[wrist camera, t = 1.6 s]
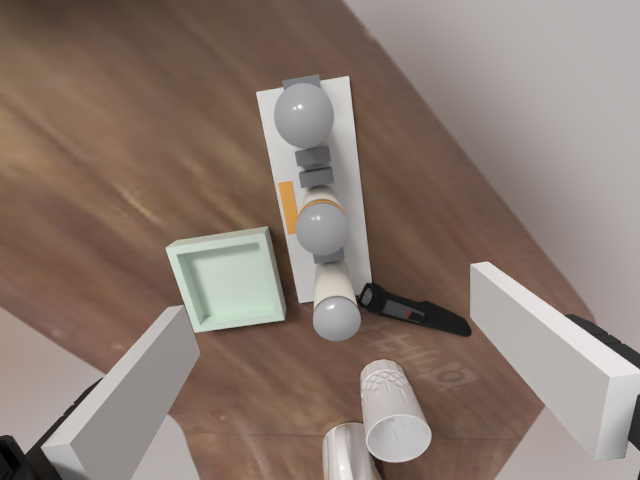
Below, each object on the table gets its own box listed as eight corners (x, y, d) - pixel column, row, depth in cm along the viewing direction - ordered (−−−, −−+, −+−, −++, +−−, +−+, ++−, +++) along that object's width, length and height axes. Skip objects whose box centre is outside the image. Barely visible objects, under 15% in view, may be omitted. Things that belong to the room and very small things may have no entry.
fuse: (311, 257, 38) (309, 303, 27) (346, 252, 38) (358, 296, 27) (317, 288, 39) (317, 344, 29) (350, 284, 39) (363, 337, 29)
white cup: (414, 387, 46) (439, 451, 36) (366, 402, 47) (378, 469, 37) (398, 348, 43) (420, 406, 34) (348, 365, 44) (356, 426, 35)
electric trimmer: (452, 332, 43) (464, 347, 40) (355, 302, 40) (360, 315, 37) (465, 311, 42) (479, 324, 39) (367, 278, 39) (373, 290, 36)
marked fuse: (299, 187, 35) (291, 208, 24) (336, 181, 35) (345, 200, 24) (305, 224, 36) (300, 258, 26) (342, 218, 36) (352, 251, 26)
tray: (176, 240, 38) (165, 248, 35) (268, 226, 37) (264, 232, 35) (202, 320, 42) (194, 332, 39) (286, 308, 41) (284, 320, 38)
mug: (310, 455, 50) (308, 538, 40) (335, 403, 47) (340, 480, 36) (366, 469, 52) (379, 553, 41) (396, 420, 48) (417, 499, 38)
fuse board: (257, 92, 32) (249, 86, 29) (348, 76, 32) (351, 68, 28) (299, 300, 41) (297, 316, 37) (372, 290, 40) (377, 305, 37)
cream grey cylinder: (284, 105, 32) (268, 88, 22) (325, 98, 32) (329, 78, 21) (292, 148, 34) (280, 152, 23) (331, 141, 33) (337, 143, 23)
